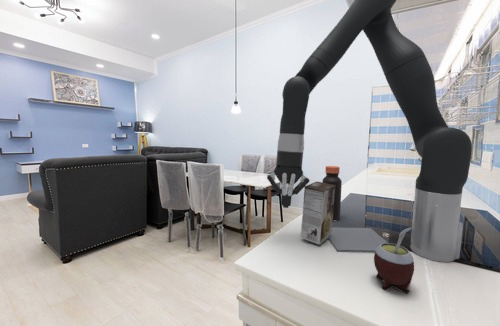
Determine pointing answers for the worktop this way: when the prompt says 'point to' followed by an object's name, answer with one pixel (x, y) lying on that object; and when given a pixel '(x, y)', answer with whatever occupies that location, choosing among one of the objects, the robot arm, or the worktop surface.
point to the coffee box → (318, 212)
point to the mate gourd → (394, 264)
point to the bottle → (335, 180)
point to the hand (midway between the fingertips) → (285, 206)
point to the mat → (355, 239)
